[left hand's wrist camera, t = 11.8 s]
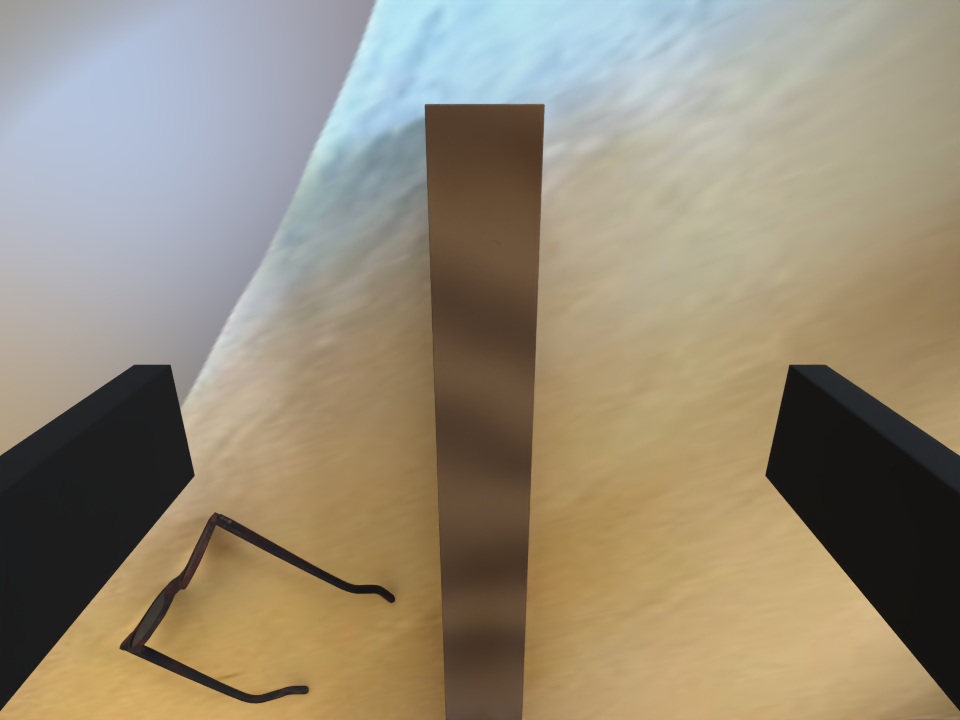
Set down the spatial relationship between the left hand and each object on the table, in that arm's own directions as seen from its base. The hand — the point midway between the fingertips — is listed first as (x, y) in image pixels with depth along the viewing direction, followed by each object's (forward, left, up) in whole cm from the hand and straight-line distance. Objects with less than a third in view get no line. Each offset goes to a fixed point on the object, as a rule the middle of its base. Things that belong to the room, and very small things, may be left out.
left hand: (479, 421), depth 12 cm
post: (+16, +28, -23) cm, 40 cm away
